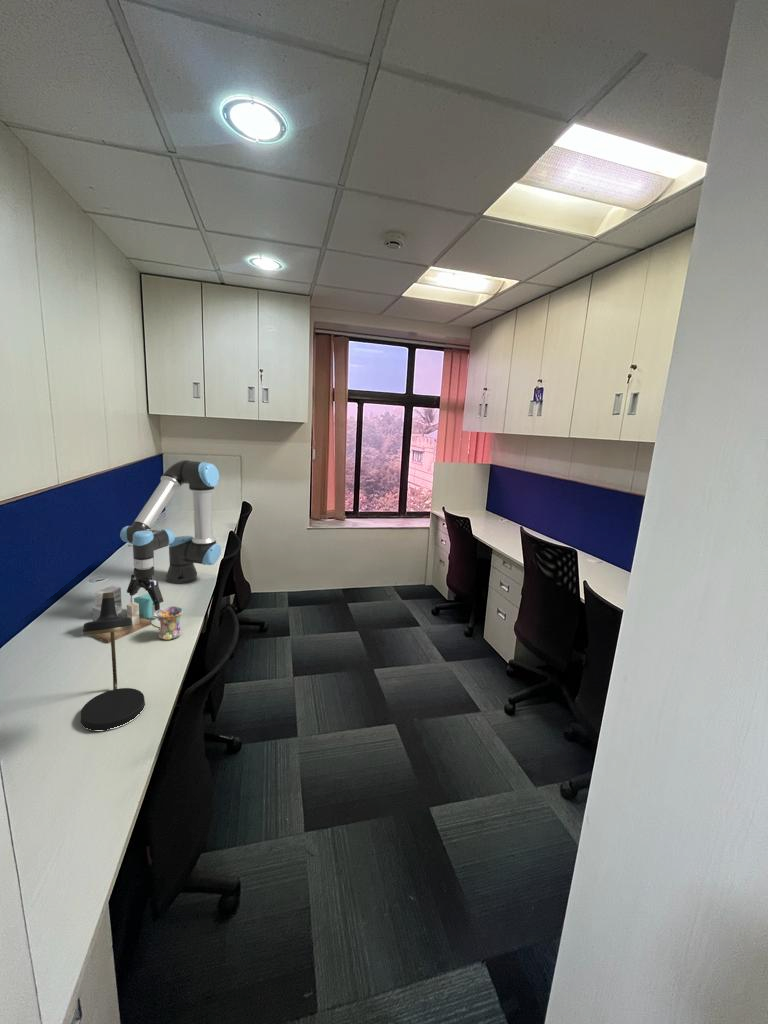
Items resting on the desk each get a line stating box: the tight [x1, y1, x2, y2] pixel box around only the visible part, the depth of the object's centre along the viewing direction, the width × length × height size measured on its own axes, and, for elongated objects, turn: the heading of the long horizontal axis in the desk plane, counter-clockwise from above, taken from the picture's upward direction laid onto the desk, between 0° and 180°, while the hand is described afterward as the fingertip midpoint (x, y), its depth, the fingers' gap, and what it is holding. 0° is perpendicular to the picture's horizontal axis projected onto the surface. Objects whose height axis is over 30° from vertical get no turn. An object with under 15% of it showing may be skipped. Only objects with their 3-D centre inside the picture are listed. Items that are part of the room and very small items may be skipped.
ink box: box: [95, 585, 123, 615], centre depth 176 cm, size 9×5×12 cm, turn 168°
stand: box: [90, 602, 152, 644], centre depth 166 cm, size 18×12×11 cm, turn 156°
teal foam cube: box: [134, 593, 153, 620], centre depth 179 cm, size 6×6×8 cm
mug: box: [148, 606, 184, 640], centre depth 164 cm, size 12×9×11 cm
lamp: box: [79, 592, 146, 730], centre depth 120 cm, size 16×22×38 cm
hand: (145, 612), depth 180 cm, fingers open, 13 cm apart
